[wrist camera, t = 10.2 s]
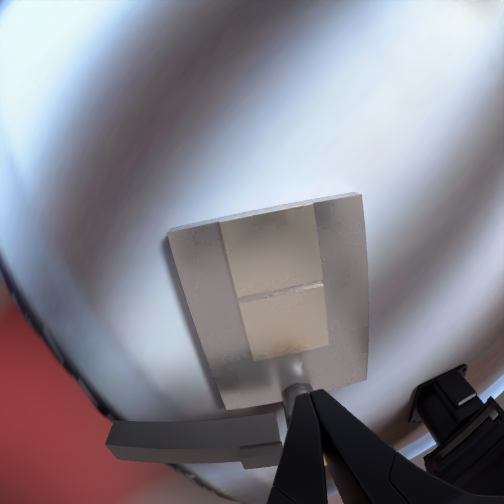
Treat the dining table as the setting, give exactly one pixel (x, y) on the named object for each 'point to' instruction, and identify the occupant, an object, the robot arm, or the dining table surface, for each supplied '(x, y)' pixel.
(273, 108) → the dining table surface
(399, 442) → the dining table surface
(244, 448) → the bar
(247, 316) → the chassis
